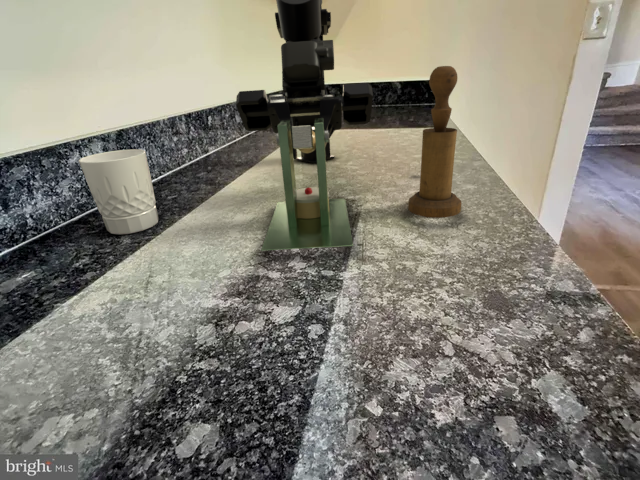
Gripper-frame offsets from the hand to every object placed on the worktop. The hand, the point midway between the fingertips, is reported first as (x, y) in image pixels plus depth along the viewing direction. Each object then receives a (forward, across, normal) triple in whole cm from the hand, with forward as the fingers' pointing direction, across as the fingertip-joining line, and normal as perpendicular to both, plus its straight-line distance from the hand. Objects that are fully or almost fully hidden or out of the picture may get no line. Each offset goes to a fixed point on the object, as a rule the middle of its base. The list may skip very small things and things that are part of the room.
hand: (306, 157), depth 49 cm
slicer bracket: (+10, 0, +2) cm, 10 cm away
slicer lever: (+1, 0, -2) cm, 3 cm away
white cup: (+7, -25, +5) cm, 27 cm away
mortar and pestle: (+9, +16, +3) cm, 19 cm away
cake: (+7, 0, +3) cm, 7 cm away
